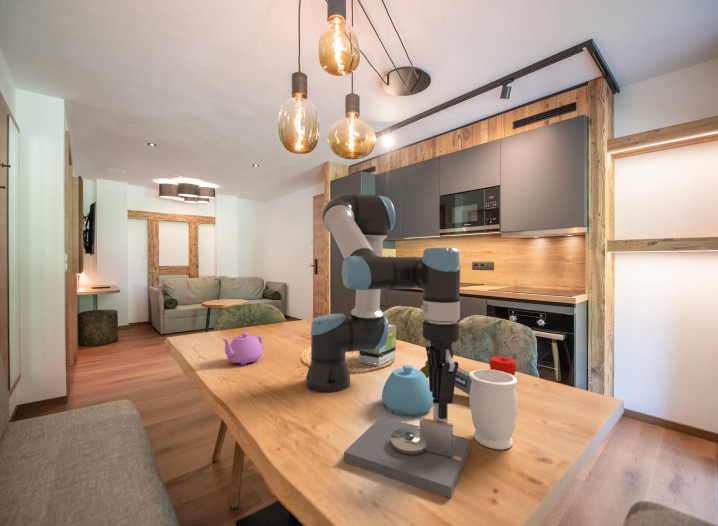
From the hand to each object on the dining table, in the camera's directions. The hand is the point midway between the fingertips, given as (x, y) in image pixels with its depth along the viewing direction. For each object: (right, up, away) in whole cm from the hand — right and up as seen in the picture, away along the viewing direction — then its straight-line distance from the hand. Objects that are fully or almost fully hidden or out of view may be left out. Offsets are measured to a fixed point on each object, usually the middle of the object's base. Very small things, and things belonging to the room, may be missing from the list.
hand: (440, 430), depth 69 cm
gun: (+13, -6, +35) cm, 38 cm away
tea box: (-9, -6, +70) cm, 71 cm away
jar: (+14, -6, +7) cm, 16 cm away
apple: (+34, -6, +46) cm, 57 cm away
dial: (-4, -3, 0) cm, 5 cm away
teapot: (-66, -6, +67) cm, 94 cm away
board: (-7, -6, +1) cm, 9 cm away
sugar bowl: (-3, -6, +25) cm, 26 cm away
